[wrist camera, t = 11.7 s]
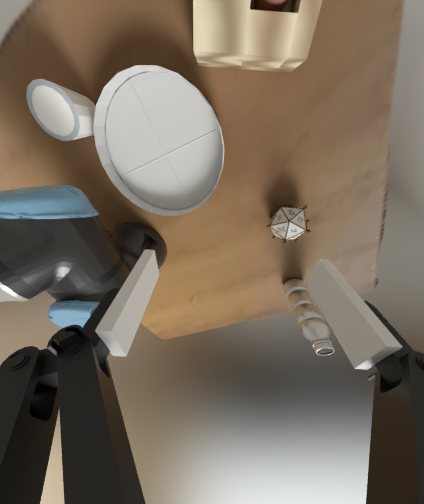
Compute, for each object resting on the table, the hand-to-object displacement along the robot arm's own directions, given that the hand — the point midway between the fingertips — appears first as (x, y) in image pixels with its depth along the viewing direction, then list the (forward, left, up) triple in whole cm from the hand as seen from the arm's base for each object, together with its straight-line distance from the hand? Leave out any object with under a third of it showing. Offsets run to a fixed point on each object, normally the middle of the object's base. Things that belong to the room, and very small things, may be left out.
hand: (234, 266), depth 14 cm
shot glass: (-26, +10, -27) cm, 38 cm away
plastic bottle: (+24, -28, -27) cm, 46 cm away
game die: (+14, -6, -27) cm, 31 cm away
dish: (-12, +5, -27) cm, 30 cm away
